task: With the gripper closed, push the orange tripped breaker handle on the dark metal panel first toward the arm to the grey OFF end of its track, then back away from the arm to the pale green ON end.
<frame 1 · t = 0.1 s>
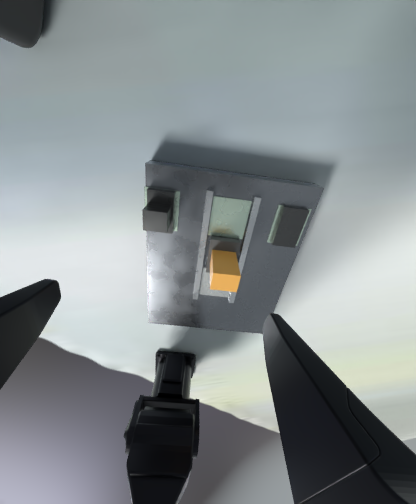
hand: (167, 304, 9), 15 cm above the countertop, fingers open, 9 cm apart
tripped breaker: (223, 267, 20), point 5 cm above the countertop, slide at 4.0 cm
breaker panel: (218, 259, 25), on the countertop
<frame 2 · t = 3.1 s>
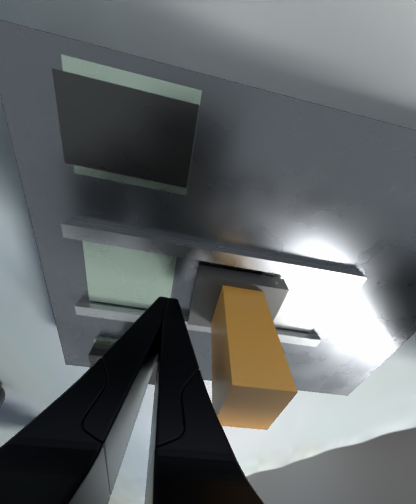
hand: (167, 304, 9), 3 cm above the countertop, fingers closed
tripped breaker: (240, 338, 8), point 5 cm above the countertop, slide at 3.0 cm, touching gripper
breaker panel: (245, 272, 12), on the countertop
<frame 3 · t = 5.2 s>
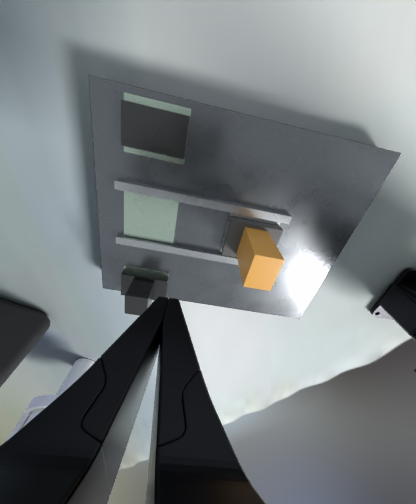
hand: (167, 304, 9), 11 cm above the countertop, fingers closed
white stepped cylinder: (87, 363, 30), on the countertop
tripped breaker: (255, 253, 15), point 5 cm above the countertop, slide at 0.0 cm
breaker panel: (223, 223, 18), on the countertop
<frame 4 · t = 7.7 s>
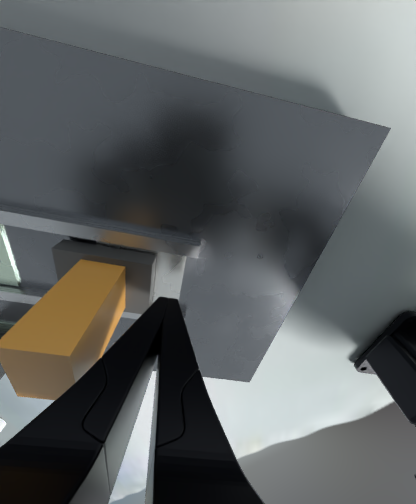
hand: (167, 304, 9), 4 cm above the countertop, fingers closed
tripped breaker: (86, 312, 8), point 5 cm above the countertop, slide at 1.3 cm, touching gripper
breaker panel: (115, 249, 12), on the countertop
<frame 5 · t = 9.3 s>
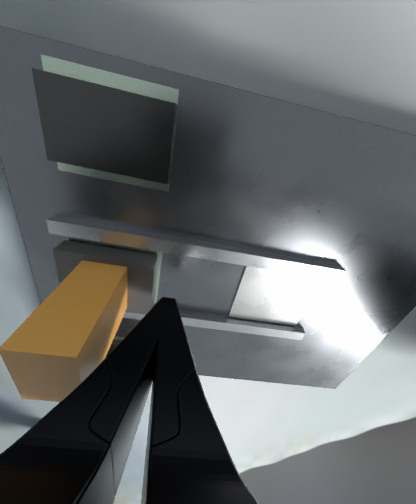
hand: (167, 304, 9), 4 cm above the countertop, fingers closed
tripped breaker: (88, 313, 8), point 5 cm above the countertop, slide at 8.1 cm, touching gripper
breaker panel: (232, 268, 12), on the countertop
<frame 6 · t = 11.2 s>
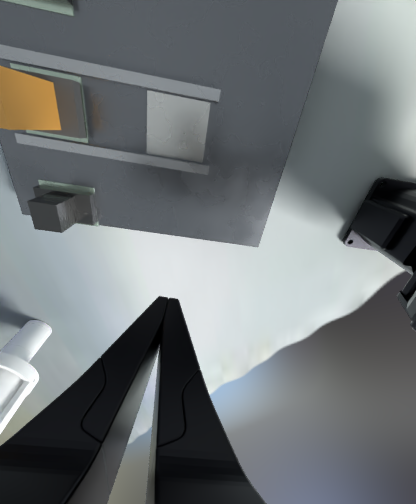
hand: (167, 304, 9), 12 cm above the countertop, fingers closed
white stepped cylinder: (40, 326, 27), on the countertop
tripped breaker: (21, 101, 11), point 5 cm above the countertop, slide at 8.0 cm
breaker panel: (153, 124, 16), on the countertop
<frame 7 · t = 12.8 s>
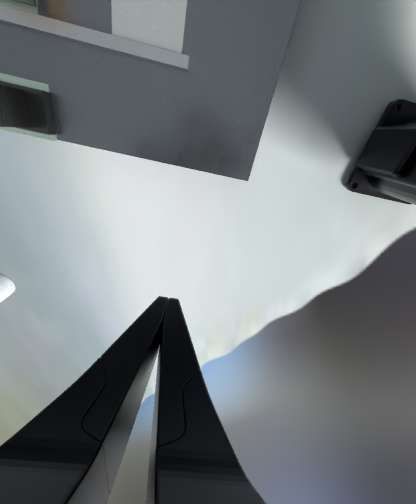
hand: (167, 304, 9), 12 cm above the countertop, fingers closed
white stepped cylinder: (1, 282, 24), on the countertop
breaker panel: (125, 8, 13), on the countertop
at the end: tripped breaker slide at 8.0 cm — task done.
